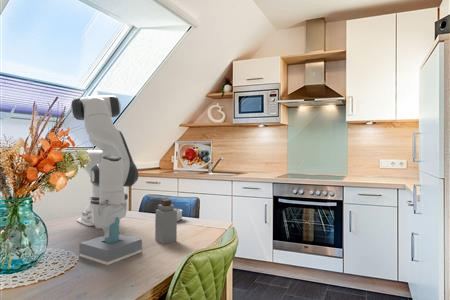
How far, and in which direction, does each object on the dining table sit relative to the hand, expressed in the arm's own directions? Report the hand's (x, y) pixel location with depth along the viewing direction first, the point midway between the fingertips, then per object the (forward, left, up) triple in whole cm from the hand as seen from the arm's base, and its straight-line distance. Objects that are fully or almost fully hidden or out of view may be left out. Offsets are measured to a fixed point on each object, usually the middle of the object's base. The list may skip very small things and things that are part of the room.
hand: (111, 234), depth 118 cm
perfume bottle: (+6, +24, -8) cm, 26 cm away
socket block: (0, 0, -8) cm, 8 cm away
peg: (0, 0, -6) cm, 6 cm away
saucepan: (-19, +58, -8) cm, 61 cm away
